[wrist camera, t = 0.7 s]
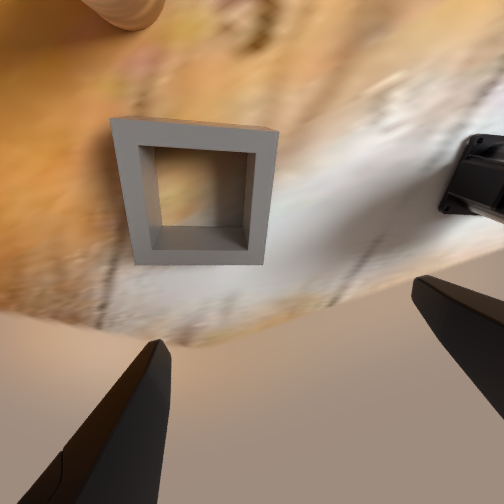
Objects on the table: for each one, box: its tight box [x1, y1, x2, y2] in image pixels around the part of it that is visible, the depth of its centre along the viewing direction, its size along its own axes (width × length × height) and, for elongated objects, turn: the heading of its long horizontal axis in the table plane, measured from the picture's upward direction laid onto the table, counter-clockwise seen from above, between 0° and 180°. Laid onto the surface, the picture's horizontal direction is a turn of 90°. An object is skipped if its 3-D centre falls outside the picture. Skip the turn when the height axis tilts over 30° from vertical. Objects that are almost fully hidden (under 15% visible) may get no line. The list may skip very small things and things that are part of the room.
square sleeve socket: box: [110, 116, 279, 265], centre depth 17 cm, size 9×9×4 cm
